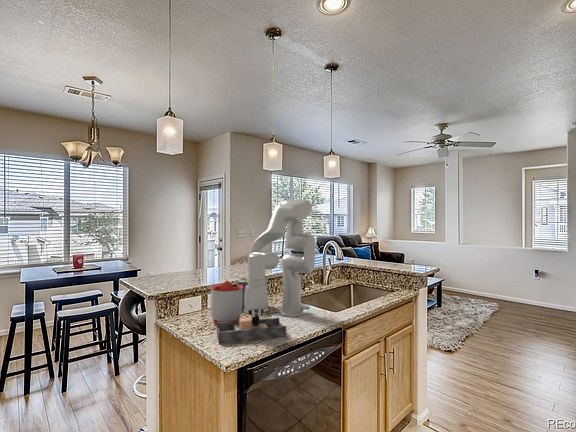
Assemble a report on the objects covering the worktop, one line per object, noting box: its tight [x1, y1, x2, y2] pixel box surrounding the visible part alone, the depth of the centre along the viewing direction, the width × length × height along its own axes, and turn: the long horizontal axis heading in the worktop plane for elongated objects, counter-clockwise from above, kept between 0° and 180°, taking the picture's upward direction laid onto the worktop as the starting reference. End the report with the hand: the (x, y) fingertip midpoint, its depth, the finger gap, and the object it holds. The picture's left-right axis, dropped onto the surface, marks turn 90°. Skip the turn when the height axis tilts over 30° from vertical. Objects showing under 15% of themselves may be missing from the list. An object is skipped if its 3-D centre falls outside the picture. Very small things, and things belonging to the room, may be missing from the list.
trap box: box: [216, 317, 287, 345], centre depth 133 cm, size 28×12×4 cm, turn 107°
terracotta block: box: [239, 316, 252, 330], centre depth 132 cm, size 4×4×4 cm
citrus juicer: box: [210, 280, 243, 325], centre depth 150 cm, size 16×17×20 cm
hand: (255, 325), depth 134 cm, fingers closed
